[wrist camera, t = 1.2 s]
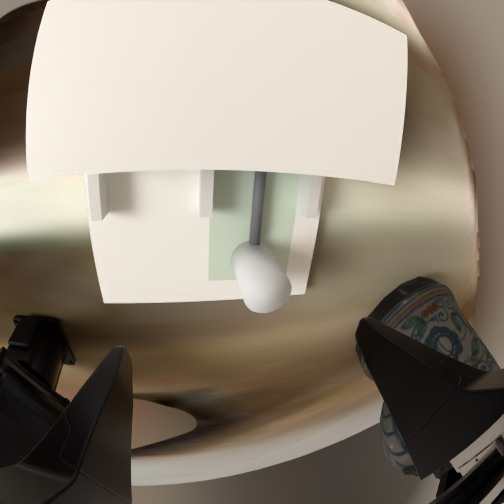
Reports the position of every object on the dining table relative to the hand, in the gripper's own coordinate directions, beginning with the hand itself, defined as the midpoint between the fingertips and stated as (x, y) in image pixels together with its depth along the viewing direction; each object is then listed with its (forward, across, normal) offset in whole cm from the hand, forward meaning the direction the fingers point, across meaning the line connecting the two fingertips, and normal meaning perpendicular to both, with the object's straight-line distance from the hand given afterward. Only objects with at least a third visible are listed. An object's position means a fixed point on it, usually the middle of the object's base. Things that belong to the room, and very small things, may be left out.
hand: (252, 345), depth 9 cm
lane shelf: (+13, 0, -4) cm, 14 cm away
